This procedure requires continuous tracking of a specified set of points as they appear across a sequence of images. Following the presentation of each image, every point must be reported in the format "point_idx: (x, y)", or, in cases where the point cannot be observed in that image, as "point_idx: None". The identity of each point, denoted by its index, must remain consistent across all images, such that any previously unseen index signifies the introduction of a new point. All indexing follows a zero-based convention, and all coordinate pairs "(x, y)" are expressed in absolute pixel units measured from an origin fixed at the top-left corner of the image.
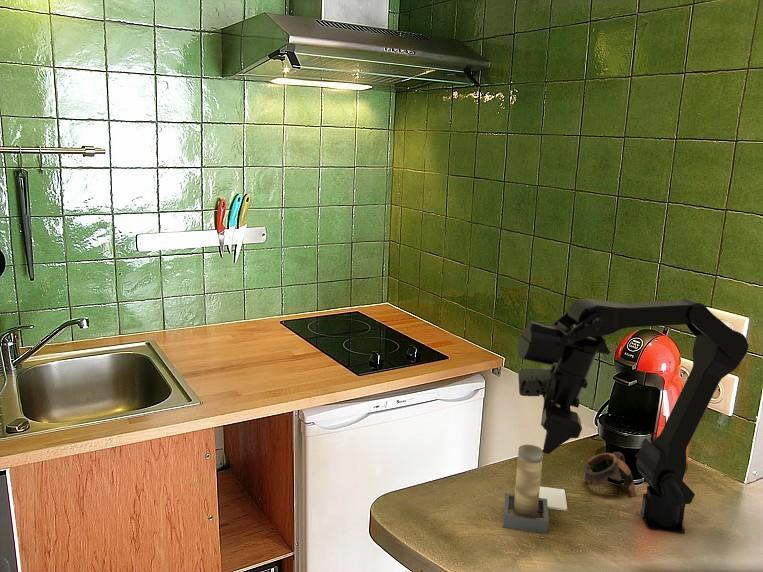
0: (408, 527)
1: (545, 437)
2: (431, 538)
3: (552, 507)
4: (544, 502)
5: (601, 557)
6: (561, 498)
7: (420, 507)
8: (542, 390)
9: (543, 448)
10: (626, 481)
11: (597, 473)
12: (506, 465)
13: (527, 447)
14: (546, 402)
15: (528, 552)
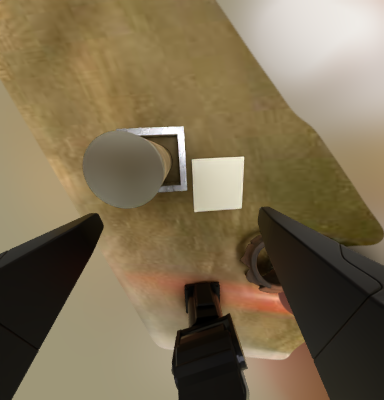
0: None
1: (18, 251)
2: (39, 12)
3: (193, 194)
4: (175, 187)
5: (111, 244)
6: (218, 205)
7: None
8: None
9: (79, 219)
10: (272, 273)
11: (253, 257)
12: (300, 125)
13: (138, 160)
14: (354, 302)
15: (81, 168)
